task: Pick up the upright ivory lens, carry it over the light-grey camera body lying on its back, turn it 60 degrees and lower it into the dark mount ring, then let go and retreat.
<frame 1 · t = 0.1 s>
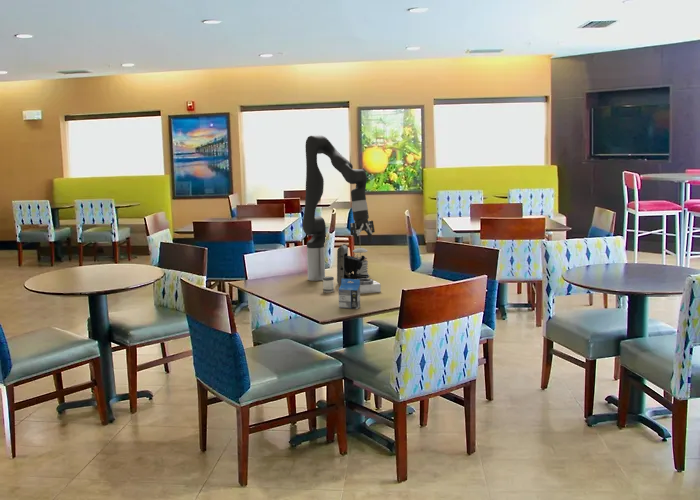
hand: (364, 242, 347), 22 cm above the table, fingers open, 8 cm apart
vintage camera: (353, 284, 361), on the table
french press: (359, 276, 382), on the table
label tape cartridge: (349, 308, 307), on the table
camera body: (363, 291, 341), on the table
lens: (328, 291, 342), on the table
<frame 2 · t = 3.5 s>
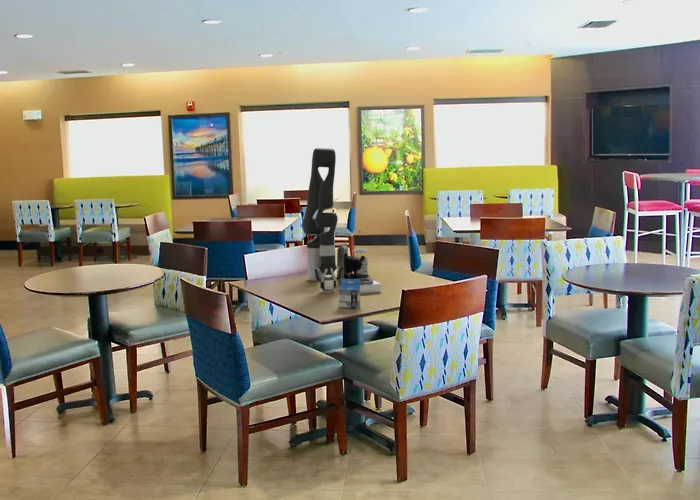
hand: (328, 288, 342), 1 cm above the table, fingers closed on lens, 5 cm apart
lens: (328, 291, 342), on the table, touching gripper
everything else where it was.
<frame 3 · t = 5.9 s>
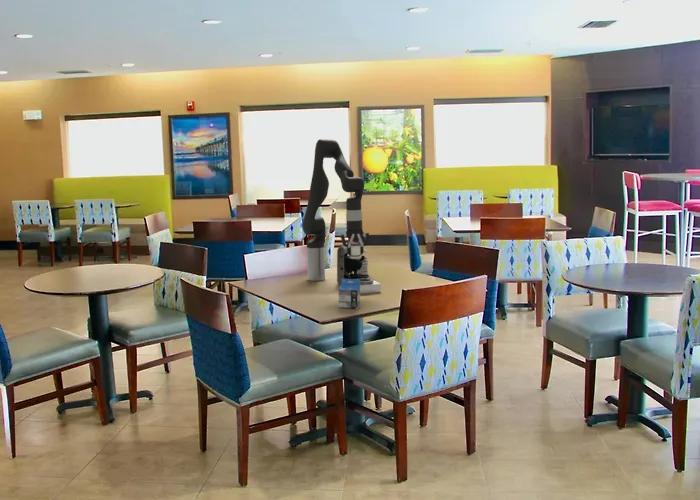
hand: (355, 254, 338), 18 cm above the table, fingers closed on lens, 5 cm apart
lens: (355, 257, 338), point 17 cm above the table, touching gripper
everything else where it was.
when the fingers open (7 cm above the table, at t = 8.5 s): lens drops 1 cm, resting on camera body.
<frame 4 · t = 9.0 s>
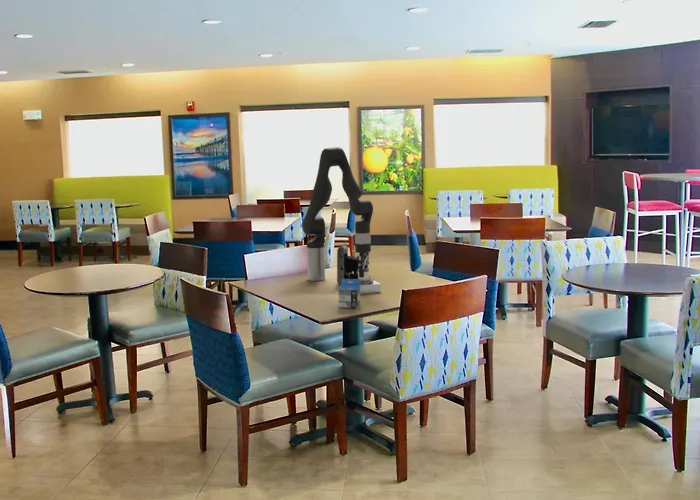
hand: (363, 275, 340), 8 cm above the table, fingers open, 8 cm apart
lens: (363, 283, 340), point 4 cm above the table, touching camera body
everything else where it was.
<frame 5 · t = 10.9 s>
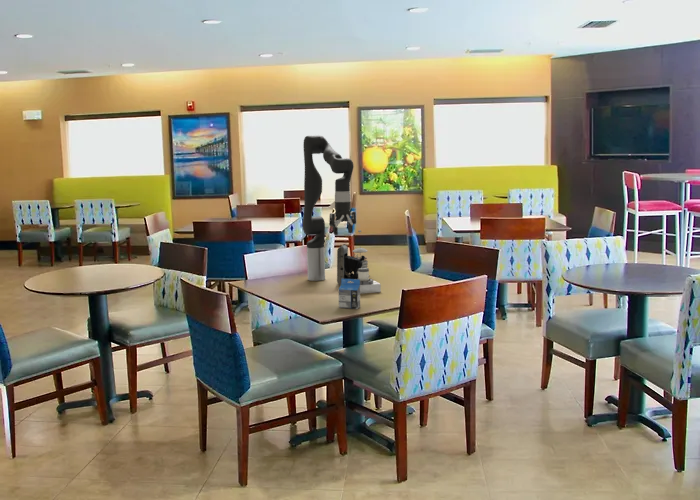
hand: (342, 233, 342), 27 cm above the table, fingers open, 8 cm apart
nothing on the table moved.
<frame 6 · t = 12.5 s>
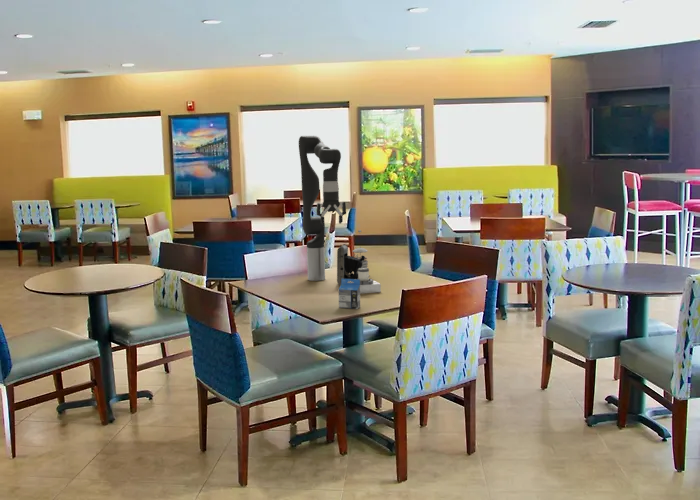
hand: (331, 223, 344), 32 cm above the table, fingers open, 8 cm apart
nothing on the table moved.
at the end: lens 0.1 cm off-centre on the camera body, point 4.0 cm above the camera body's base; lens tilted 0°; the gripper is holding nothing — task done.
